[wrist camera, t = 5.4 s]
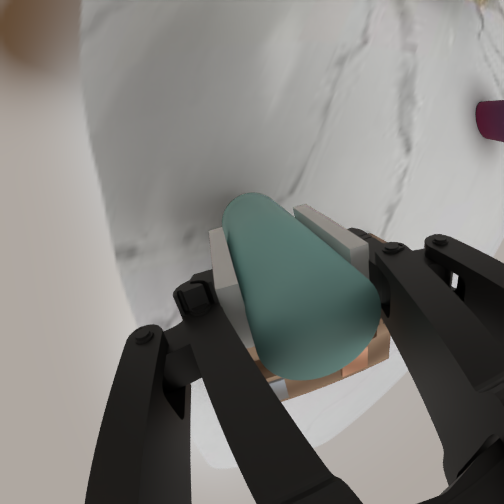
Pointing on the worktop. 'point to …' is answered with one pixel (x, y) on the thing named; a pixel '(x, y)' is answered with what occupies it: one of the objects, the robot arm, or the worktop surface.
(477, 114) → the cup
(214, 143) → the worktop surface
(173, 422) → the robot arm
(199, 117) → the worktop surface
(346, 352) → the plug
